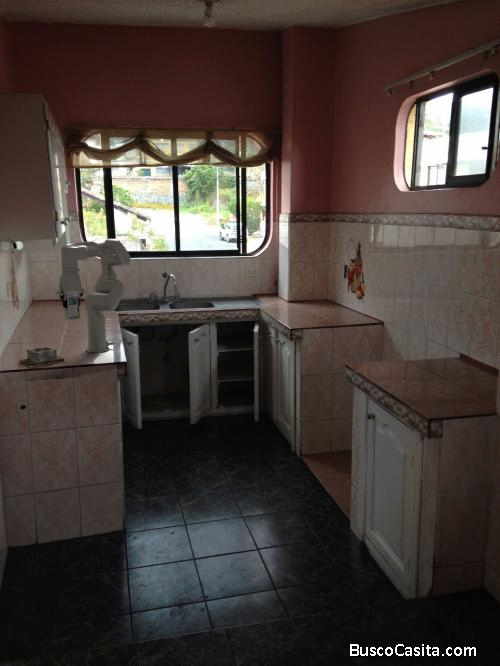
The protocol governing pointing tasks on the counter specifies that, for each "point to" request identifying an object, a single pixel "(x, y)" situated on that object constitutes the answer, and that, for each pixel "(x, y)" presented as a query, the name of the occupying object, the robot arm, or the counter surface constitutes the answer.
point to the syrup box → (72, 306)
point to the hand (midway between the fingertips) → (71, 306)
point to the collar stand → (41, 356)
